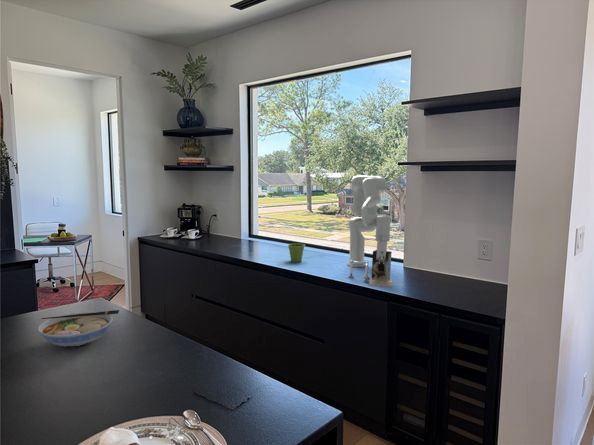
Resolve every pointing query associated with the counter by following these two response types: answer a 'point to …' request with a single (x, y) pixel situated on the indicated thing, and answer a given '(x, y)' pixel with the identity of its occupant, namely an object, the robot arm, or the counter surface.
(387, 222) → the robot arm
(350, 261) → the white arch piece
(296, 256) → the plant pot
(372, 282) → the tile
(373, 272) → the coffee box
